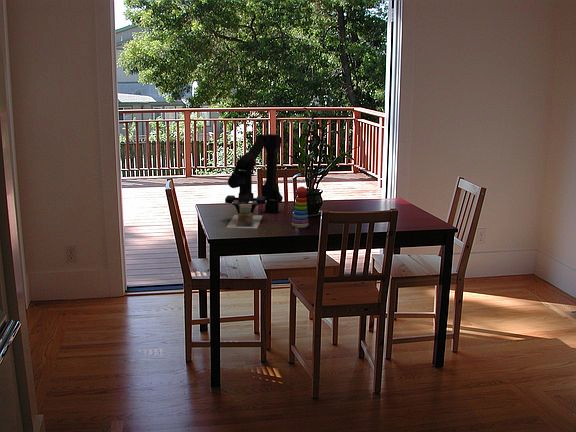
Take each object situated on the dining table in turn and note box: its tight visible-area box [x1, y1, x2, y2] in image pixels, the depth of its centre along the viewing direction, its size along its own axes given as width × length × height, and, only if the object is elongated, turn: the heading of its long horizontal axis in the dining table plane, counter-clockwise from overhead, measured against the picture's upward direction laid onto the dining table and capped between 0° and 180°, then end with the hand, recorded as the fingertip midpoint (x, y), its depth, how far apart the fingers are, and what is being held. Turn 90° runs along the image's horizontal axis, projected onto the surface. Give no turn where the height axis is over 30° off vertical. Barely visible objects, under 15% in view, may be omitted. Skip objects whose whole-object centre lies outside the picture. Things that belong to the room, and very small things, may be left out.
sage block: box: [240, 206, 252, 213], centre depth 325 cm, size 5×5×5 cm
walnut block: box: [237, 212, 254, 226], centre depth 317 cm, size 6×6×5 cm
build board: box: [225, 214, 263, 229], centre depth 325 cm, size 14×27×1 cm, turn 176°
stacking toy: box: [291, 186, 309, 229], centre depth 318 cm, size 8×8×19 cm
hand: (245, 217), depth 326 cm, fingers closed on sage block, 5 cm apart
